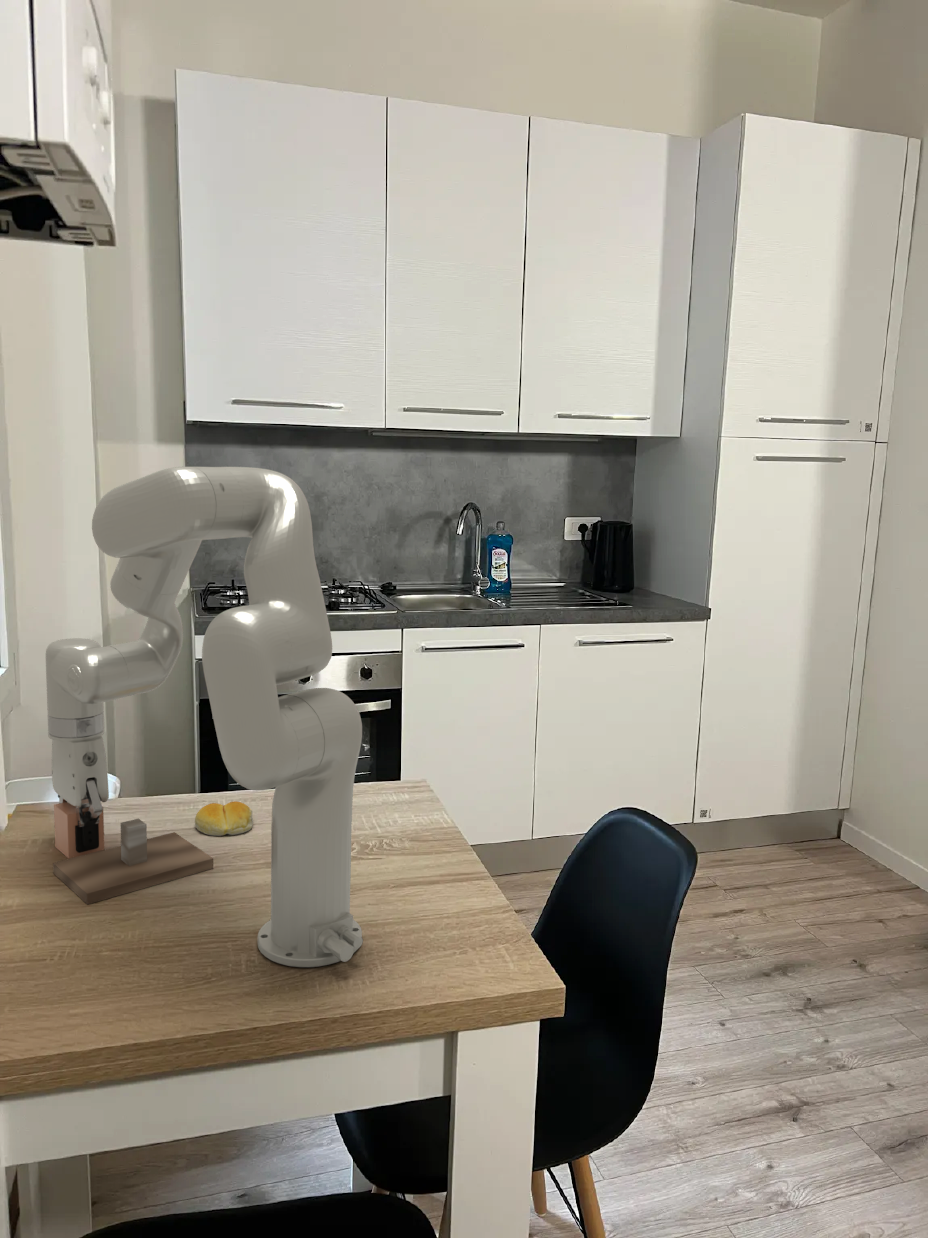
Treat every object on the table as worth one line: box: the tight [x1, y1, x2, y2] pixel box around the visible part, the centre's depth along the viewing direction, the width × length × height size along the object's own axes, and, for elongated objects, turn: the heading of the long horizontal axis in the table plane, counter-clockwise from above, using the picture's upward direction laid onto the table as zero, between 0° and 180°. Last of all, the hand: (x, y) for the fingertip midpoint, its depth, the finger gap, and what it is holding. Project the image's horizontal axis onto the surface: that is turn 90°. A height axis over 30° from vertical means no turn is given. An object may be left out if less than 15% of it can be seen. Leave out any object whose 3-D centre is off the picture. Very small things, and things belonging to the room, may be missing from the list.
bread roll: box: [194, 801, 254, 837], centre depth 151 cm, size 8×9×4 cm
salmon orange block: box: [53, 799, 105, 859], centre depth 140 cm, size 5×5×7 cm
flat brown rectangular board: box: [52, 818, 214, 905], centre depth 133 cm, size 12×18×7 cm, turn 133°
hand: (79, 842), depth 141 cm, fingers closed on salmon orange block, 5 cm apart
